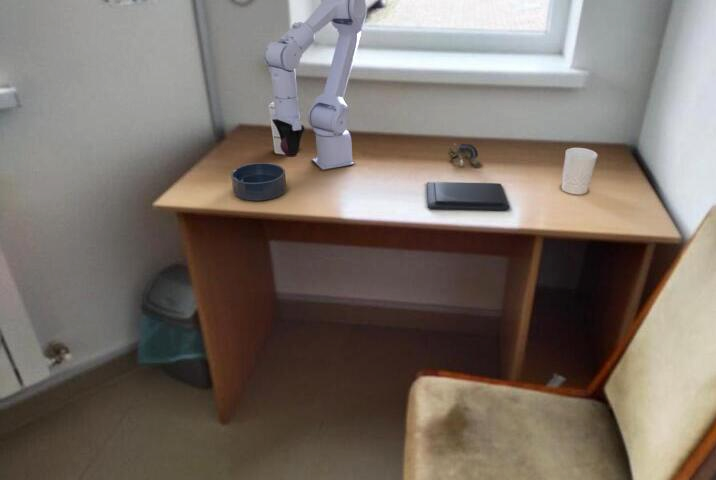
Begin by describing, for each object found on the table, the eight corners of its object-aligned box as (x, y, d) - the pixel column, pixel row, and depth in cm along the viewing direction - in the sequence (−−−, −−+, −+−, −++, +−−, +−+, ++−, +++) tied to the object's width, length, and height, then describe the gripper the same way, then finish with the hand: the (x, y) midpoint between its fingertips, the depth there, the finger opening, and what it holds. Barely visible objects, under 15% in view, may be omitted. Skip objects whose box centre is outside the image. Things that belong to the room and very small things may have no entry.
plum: (296, 150, 146) (295, 129, 143) (303, 156, 143) (301, 135, 140) (279, 153, 144) (276, 132, 141) (284, 159, 141) (282, 138, 138)
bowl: (277, 177, 148) (275, 159, 146) (293, 196, 139) (292, 177, 136) (228, 186, 143) (225, 168, 140) (241, 206, 134) (238, 187, 131)
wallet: (427, 202, 134) (427, 177, 147) (427, 209, 135) (426, 183, 148) (510, 205, 134) (503, 179, 147) (509, 212, 135) (502, 186, 148)
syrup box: (292, 155, 162) (288, 105, 154) (273, 153, 163) (268, 103, 155) (300, 148, 167) (295, 99, 159) (281, 147, 167) (276, 98, 159)
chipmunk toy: (446, 165, 156) (477, 163, 153) (446, 139, 156) (478, 137, 153) (452, 170, 163) (482, 169, 161) (452, 146, 163) (483, 144, 161)
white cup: (572, 197, 143) (580, 160, 137) (552, 186, 149) (559, 150, 143) (595, 192, 146) (604, 156, 141) (575, 181, 152) (582, 145, 146)
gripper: (260, 90, 139) (267, 142, 146) (278, 105, 128) (284, 161, 136) (288, 87, 142) (292, 139, 149) (307, 102, 131) (311, 157, 139)
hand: (290, 149), depth 143 cm, fingers closed on plum, 4 cm apart
